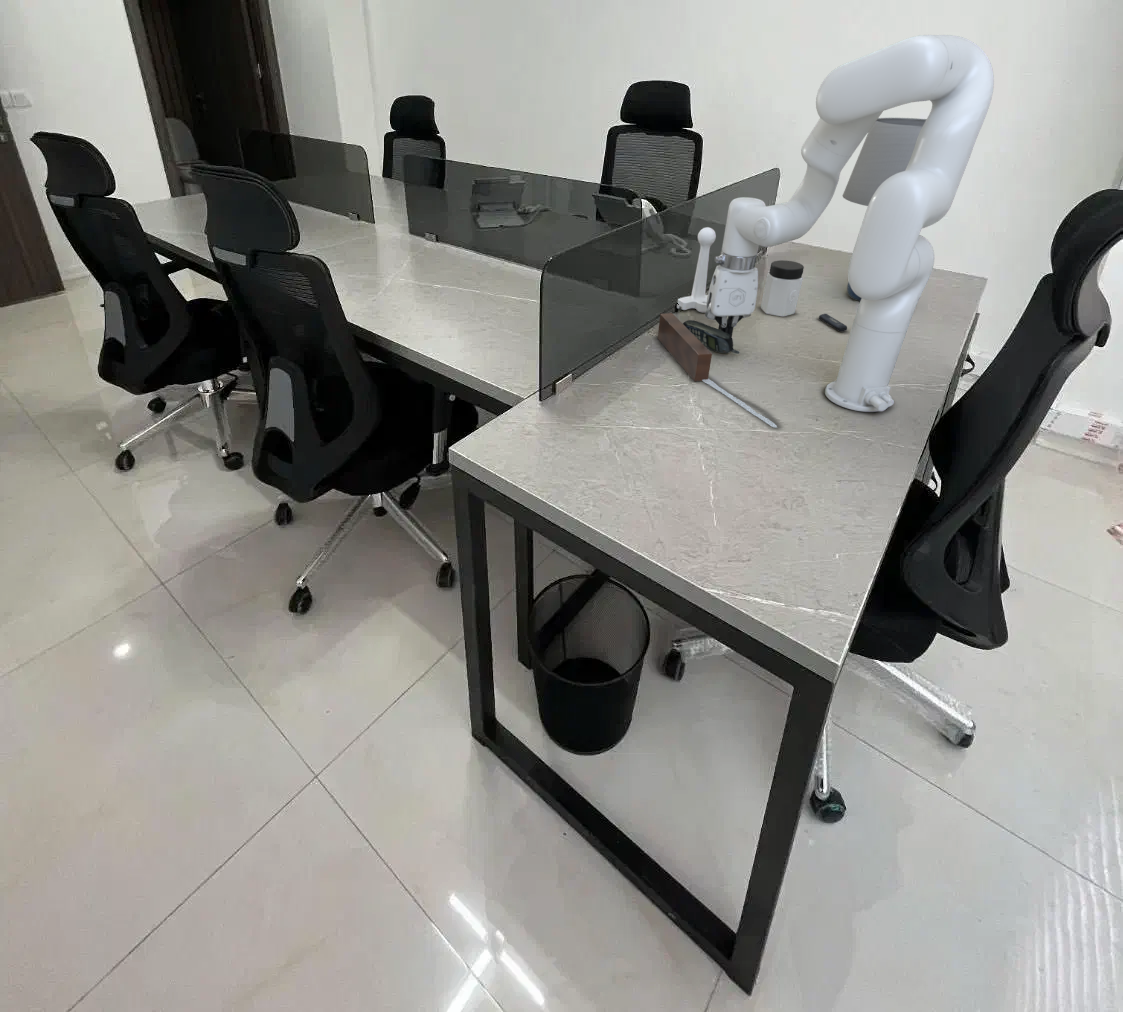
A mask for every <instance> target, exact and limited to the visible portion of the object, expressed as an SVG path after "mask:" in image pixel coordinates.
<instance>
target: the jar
mask: <svg viewBox="0 0 1123 1012" xmlns="http://www.w3.org/2000/svg"><path fill="white" fill-rule="evenodd" d="M804 269H805V267H804V265H803V264H802V263H800V262H797V261H794V260H793V261H792V260H787V259H786V260H781V259H780V260H774V261H772V262H771V263H770V266H769V272H767V274H766V279H765V283H764V289H763V294H762V299H761V303H760V308H761V310H762V311H763V312H764V313H765V315H771V316H777V317H786V316H791V315H794V314H795V313H796V311H797V310H796V309H797V305H798V300H799V297H800V293H801V288H802V284H803V279H804V278H803V274H804Z"/></svg>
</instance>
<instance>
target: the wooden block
mask: <svg viewBox="0 0 1123 1012" xmlns="http://www.w3.org/2000/svg"><path fill="white" fill-rule="evenodd" d="M658 321H659V322H658V330H657V340H658V342H660V343H661V344H662V346H664V348H665V349H666V351H668V353H670V355H671V356H672V357H673V358H674V359H675V361H676V362H677V363H678V364H679V365H680V366H681V368H682V369H683V370H684V371H685V372H686V373H687V374H688V375H689V377H690V378H691V379H692V381H694V382H703V381H702V380H704V379H708V378H709V376H710V371H711V370H710V369H711V364H712V359H713V353H712V352H711V350H710V349H708V348H706V347H705V346H704V345H703V344H702V343H701V342H700V341H699V340H698V339H697V338H696V337H695V336H694V335H693V334H692V333H691V332H690V331H689V330H688V329H687V328H686V327H685V326H684V325H683V322H682V321H681V320H680V319H679V318H678V317H677V316H676V315H675V314H673V312H669V313H667V312H666V313H660V314H659V320H658Z"/></svg>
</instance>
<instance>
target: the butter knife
mask: <svg viewBox="0 0 1123 1012" xmlns="http://www.w3.org/2000/svg"><path fill="white" fill-rule="evenodd" d="M701 382H703V383H704V384H706V385H707V386H709V387H711V388H713V389H715V390H716V391H718V392H720V393H721V394H722V395H724V396H725V397H727V398H729V399H730V400H732V401H733V402H735V403H736V404H737V405H738V406H740V407H741V408H743V409H745V410H746V411H748V412H749V413H750V414H752V415H754V417H756V418H758V419H760V420H761V421H762V422H764V423H766V424H767V425H769V426H770V427H772V428H773V429H775V428H778V426H777V425H776V424H775V423H774V422H773V421H772V420H770V419H769V418H767V417H765V416H764V415H762V414H761V413H758V412H757V411H756V410H754V409H753V408H752V407H750V406H749V405H748V404H747V403H745V402H743V400H741V399H739V398H737V397H735V396H734V395H732V394H731V393H730V392H728V391H726V390H725V389H724V388H723V387H721V386H719V385H718V384H717V383H715V382H714V381H713V380H712V379H710V378H709V377H708V379H704V380H702V381H701Z"/></svg>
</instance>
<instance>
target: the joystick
mask: <svg viewBox="0 0 1123 1012" xmlns="http://www.w3.org/2000/svg"><path fill="white" fill-rule="evenodd" d="M716 239H717V235H716V231H715V230H714V229H713V228H712V227H709V226H707V227H706V226H705V227H702V229H700V230H699V232H698V234H697V242H698V243H699V246H700V247H699V253H698V259H697V262H696V263H697V264H696V269H695V274H694V279H693V284H692V290H691V295H689V296H683V297H680V298H677V303H678V304H679V305H678V304H677V303H676V309H678V310H683V311H686V310H690V309H696V311H697V312H699V313H703V314H706V311H707V306H706V305H707V297H708V294H706V290H707V281H708V280H707V279H708V269H709V260H710V250H711V249H710V248H711V246H712V245H713V244H714V243H715V241H716Z"/></svg>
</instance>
